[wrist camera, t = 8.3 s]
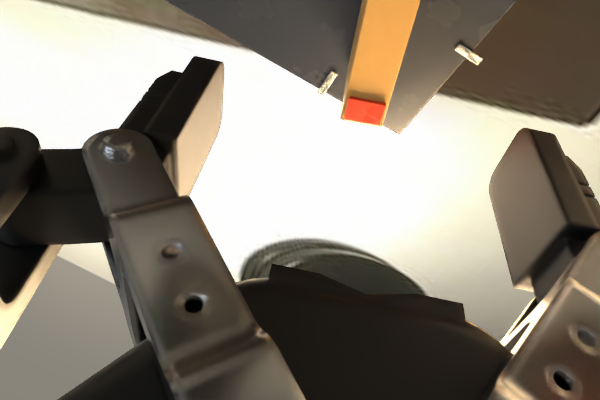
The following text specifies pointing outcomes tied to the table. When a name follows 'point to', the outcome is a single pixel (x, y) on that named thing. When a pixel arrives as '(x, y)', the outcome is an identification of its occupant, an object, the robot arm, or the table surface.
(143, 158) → the robot arm
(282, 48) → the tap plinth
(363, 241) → the table surface
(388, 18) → the tap lever
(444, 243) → the table surface
